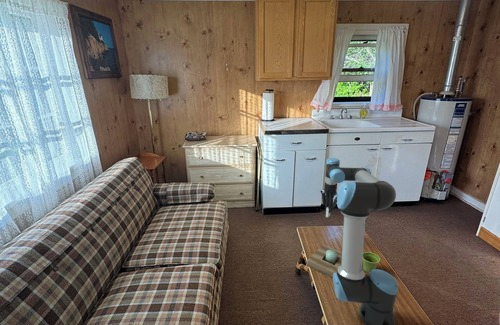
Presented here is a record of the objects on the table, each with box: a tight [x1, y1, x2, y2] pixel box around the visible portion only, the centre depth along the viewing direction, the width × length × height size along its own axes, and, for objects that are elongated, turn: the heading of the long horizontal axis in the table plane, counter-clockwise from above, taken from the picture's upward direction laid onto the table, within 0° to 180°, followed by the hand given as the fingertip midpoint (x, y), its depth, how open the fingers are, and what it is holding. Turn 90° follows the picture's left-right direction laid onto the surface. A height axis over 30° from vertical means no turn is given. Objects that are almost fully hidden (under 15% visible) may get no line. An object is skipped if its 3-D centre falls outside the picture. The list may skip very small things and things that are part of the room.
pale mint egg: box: [325, 250, 337, 265], centre depth 156 cm, size 6×6×5 cm
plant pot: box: [362, 251, 381, 274], centre depth 152 cm, size 9×9×9 cm
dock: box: [306, 243, 342, 279], centre depth 157 cm, size 20×20×4 cm
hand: (327, 216), depth 172 cm, fingers closed
